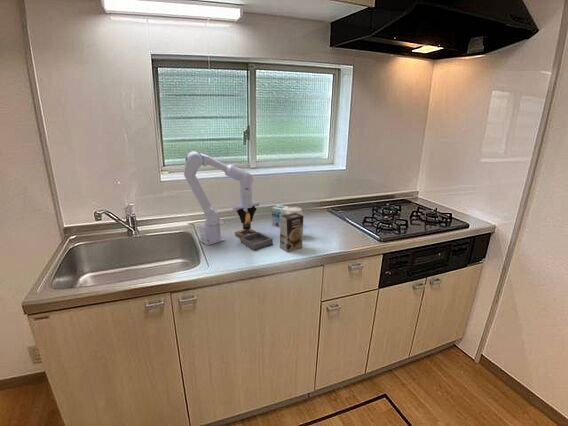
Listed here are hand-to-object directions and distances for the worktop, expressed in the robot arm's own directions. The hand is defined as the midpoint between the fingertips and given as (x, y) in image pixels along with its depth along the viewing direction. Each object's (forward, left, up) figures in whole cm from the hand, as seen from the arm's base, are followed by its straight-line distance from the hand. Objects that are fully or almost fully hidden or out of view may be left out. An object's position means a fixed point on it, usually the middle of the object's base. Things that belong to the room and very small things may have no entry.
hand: (246, 222), depth 160 cm
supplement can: (+18, -16, -8) cm, 25 cm away
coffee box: (+8, -25, -8) cm, 27 cm away
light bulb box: (+24, 0, -8) cm, 25 cm away
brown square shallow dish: (0, 0, -8) cm, 8 cm away
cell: (0, 0, -3) cm, 3 cm away
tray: (-2, -11, -8) cm, 14 cm away
